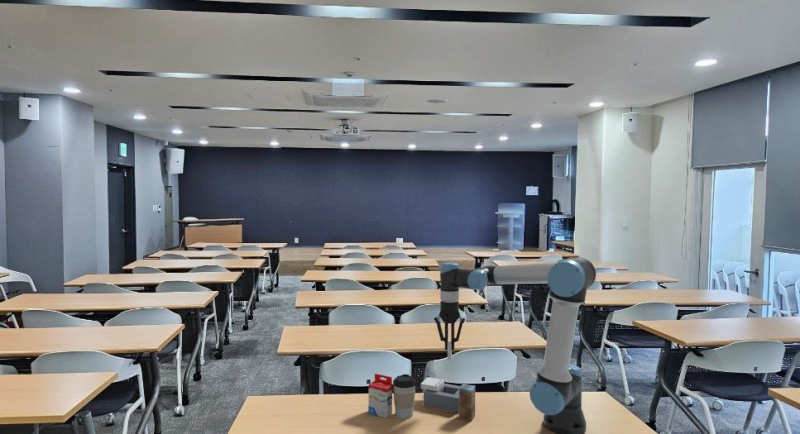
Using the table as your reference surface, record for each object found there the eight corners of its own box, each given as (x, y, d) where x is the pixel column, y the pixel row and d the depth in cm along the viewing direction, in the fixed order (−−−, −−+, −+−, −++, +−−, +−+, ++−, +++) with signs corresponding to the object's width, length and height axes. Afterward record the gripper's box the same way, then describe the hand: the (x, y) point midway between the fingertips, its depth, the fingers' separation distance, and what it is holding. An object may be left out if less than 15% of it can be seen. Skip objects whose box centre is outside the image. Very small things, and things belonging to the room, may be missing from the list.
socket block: (467, 401, 193) (467, 387, 193) (458, 413, 182) (458, 398, 182) (434, 395, 200) (434, 381, 200) (423, 406, 189) (423, 391, 189)
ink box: (367, 413, 182) (368, 377, 181) (374, 408, 186) (374, 373, 186) (386, 418, 178) (386, 381, 177) (392, 413, 182) (392, 376, 182)
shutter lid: (444, 384, 195) (444, 379, 195) (437, 391, 188) (437, 385, 188) (427, 381, 199) (427, 376, 199) (420, 388, 191) (420, 382, 191)
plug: (475, 416, 180) (475, 385, 180) (471, 421, 176) (471, 390, 175) (462, 413, 182) (463, 383, 182) (458, 419, 178) (459, 388, 177)
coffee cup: (413, 421, 176) (413, 382, 175) (390, 419, 177) (390, 380, 177) (417, 410, 185) (417, 373, 184) (395, 408, 186) (395, 372, 186)
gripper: (466, 299, 191) (466, 355, 191) (434, 298, 193) (434, 354, 194) (465, 303, 183) (465, 361, 184) (432, 301, 186) (432, 360, 186)
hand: (449, 357), depth 189 cm, fingers closed
